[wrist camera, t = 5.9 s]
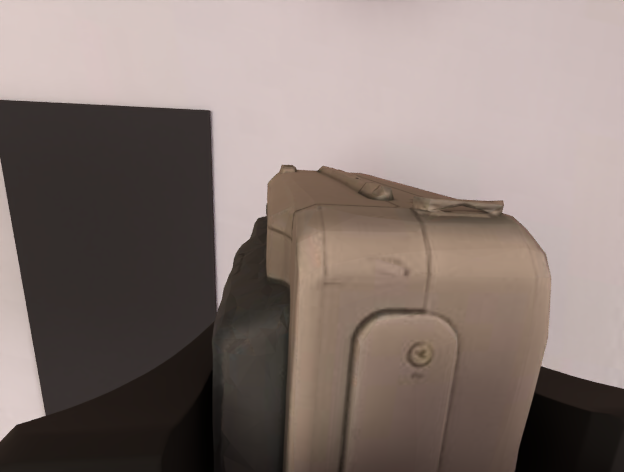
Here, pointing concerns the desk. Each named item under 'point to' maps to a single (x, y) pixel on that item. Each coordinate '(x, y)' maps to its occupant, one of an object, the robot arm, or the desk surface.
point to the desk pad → (109, 238)
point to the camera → (377, 331)
